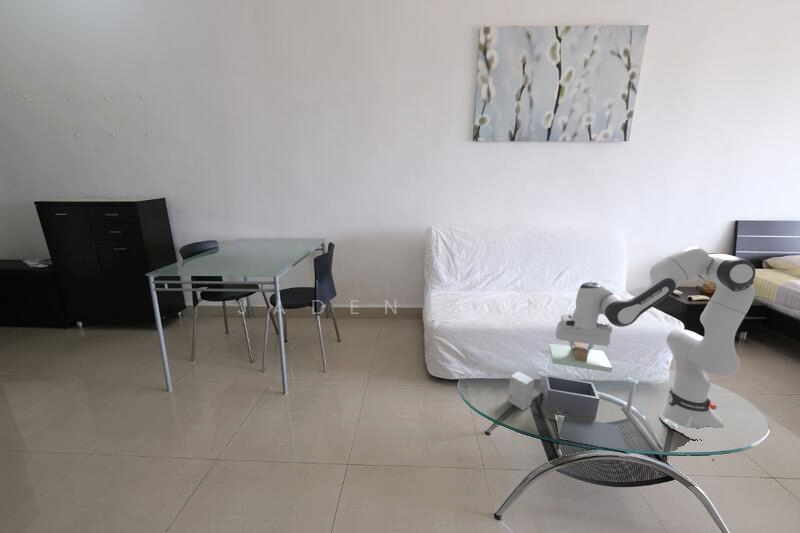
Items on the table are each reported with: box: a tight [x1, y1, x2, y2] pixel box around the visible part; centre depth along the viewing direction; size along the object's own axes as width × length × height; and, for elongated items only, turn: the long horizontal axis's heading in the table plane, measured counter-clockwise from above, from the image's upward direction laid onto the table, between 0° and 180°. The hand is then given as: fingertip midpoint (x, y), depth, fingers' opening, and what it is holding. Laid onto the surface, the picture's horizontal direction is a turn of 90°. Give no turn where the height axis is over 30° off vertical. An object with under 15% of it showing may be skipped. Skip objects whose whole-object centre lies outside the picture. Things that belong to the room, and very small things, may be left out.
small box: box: [507, 371, 535, 411], centre depth 156 cm, size 8×6×13 cm
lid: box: [548, 342, 613, 373], centre depth 149 cm, size 22×14×6 cm, turn 74°
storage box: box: [542, 374, 600, 418], centre depth 157 cm, size 20×12×9 cm, turn 74°
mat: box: [557, 415, 628, 449], centre depth 141 cm, size 24×15×1 cm, turn 74°
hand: (579, 351), depth 149 cm, fingers closed on lid, 4 cm apart
